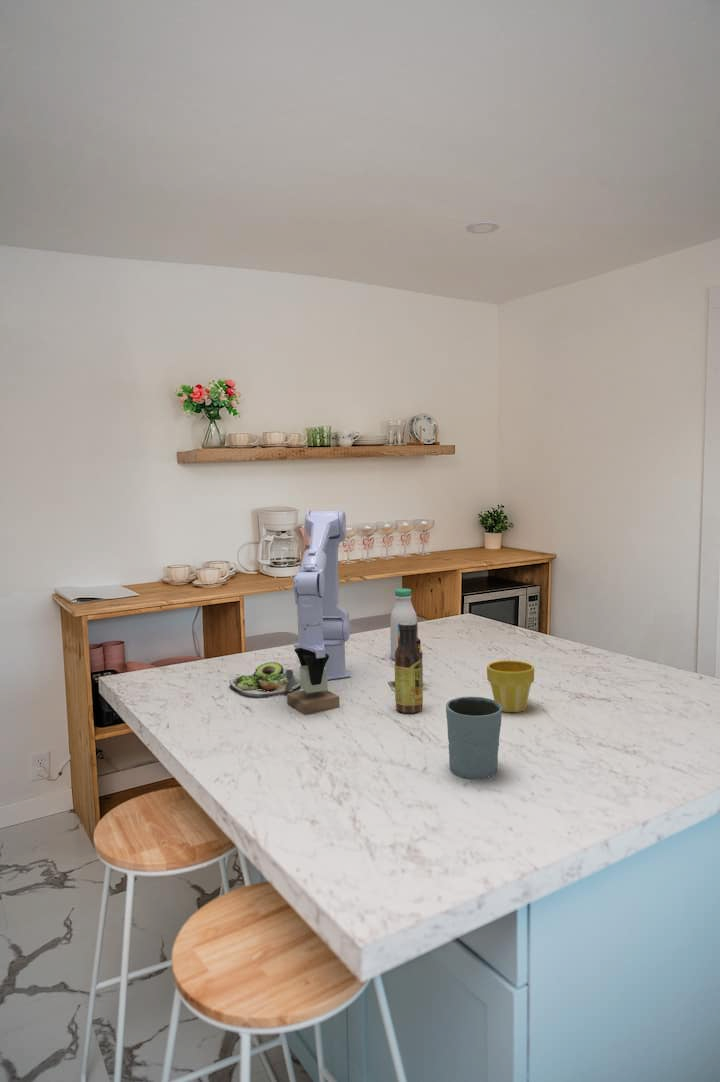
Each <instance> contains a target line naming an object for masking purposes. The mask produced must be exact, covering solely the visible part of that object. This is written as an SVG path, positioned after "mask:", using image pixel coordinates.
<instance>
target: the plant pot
mask: <svg viewBox="0 0 720 1082" xmlns="http://www.w3.org/2000/svg"><path fill="white" fill-rule="evenodd" d="M486 676H487V677H486V679H487V682H488V683H490V687H491V692H492V696H493V699H494V701H496V702H498V703H499V704H500V705H501V706H502V713H504V712H505V713H510V712H516V713H522V712H525V710H526V709H527V706H528V705H527V703H528V700H529V694H530V691H531V686H532V683H534V681H535V666H534V665H533V664H531V663H530V662H526V661H523V660H522V661H521V660H513V659H512V660H509V659H508V660H507V659H506V660H505V659H504V660H495V661H492V662H490V663H488V664H487V665H486ZM521 711H522V712H521Z"/></svg>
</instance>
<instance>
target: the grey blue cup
mask: <svg viewBox="0 0 720 1082" xmlns="http://www.w3.org/2000/svg"><path fill="white" fill-rule="evenodd" d="M445 710H446V711H445V713H446V716H445V717H446V723H447V725H446V726H447V739H448V754H449V757H448V758H449V759H448V760H449V761H448V762H449V769H450V771H451V773H453V774H454V775H456V776H458V777H460V776H461V778H464V777H466V778H465V779H470V778H482V779H484V778H483V777H487V778H489V777H488V776H490V777H492V776H494V775H495V774H496V773H497V772H498V762H499V755H498V754H499V746H500V735H501V734H500V733H501V726H502V716H503V711H502V706H501V705H500V704H499V703H498V702H496V701H494V700H493V699H492V698H491V699H490V698H488V697H483V696H482V697H481V696H461V697H456V698H452V699H450V700H448V701H447V702H446V704H445ZM493 774H494V775H493ZM491 775H492V776H491Z"/></svg>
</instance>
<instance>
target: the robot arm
mask: <svg viewBox="0 0 720 1082" xmlns="http://www.w3.org/2000/svg"><path fill="white" fill-rule="evenodd" d="M304 528H305V529H304V530H305V532H306V534H307V535H308V537H309V538H310V539H309V548H308V549H306V550H305V551H304V553H303V555H302V559H301V563H300V567H299V571H298V572H297V573H295V574H294V577H293V579H292V580H293V581H292V586H293V587H292V589H293V594H294V601H295V602H294V603H295V605H296V607H297V608H296V609H297V631H298V632H297V633H298V634H297V635H298V636H297V642H295V643H293V647H294V652H295V653H296V656H297V658H298V661H299V664H300V666H306V665H307V667H308V670H309V677H310V681H311V684H312V685H318V684H321V681H322V676H323V671H324V667H325V668H326V669H327V681H329V680H335V679H342V678H343V679H344V678H349V677H352V674H351V673H350V672H348V671H346V642H347V641H349V639H350V636H351V621H350V613H349V612H348V610H346V609H345V608H344V607H343V606H342V605H340V603H339V547H340V543H343V542H345V540H346V537H347V519H346V513H345V511H344V510H343V509H339V510H338V509H337V510H310V509H309V510H307V512H306V513H305V516H304Z"/></svg>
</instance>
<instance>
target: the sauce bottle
mask: <svg viewBox="0 0 720 1082" xmlns="http://www.w3.org/2000/svg"><path fill="white" fill-rule="evenodd" d="M417 626H418V623H417V624H416V623H415V622H401V623H399V631H400V640H399V641H400V644H399V646H398V648H397V649H396V651H395V660H394V681H395V691H394V696H395V697H394V698H395V699H394V701H395V709H396V710H397V711H398V712H400V713H403V714H413V713H418V712H420V711H421V710H423V701H424V698H423V697H424V695H423V693H424V692H423V691H424V689H423V684H424V682H423V681H424V680H422V669H423V668H422V666H423V655H422V656H421V653H420V651H419V648H418V645H417V642H416V641H417V640H416V629H417Z"/></svg>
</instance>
